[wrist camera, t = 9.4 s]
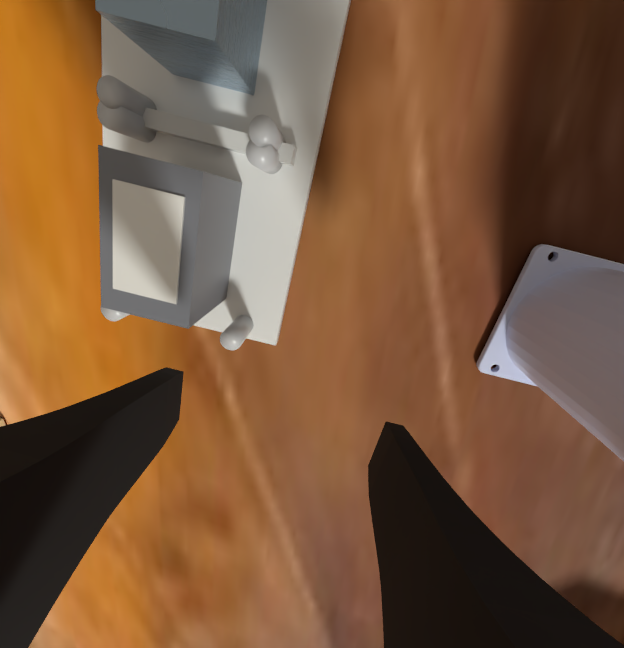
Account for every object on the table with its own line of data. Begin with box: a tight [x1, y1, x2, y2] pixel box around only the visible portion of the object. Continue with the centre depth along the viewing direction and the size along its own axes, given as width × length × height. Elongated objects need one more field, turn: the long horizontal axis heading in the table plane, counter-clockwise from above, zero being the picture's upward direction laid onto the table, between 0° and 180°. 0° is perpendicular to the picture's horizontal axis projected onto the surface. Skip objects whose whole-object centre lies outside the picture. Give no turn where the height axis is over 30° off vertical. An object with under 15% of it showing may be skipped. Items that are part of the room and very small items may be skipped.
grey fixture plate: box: [97, 0, 351, 350], centre depth 13 cm, size 11×21×6 cm, turn 167°
